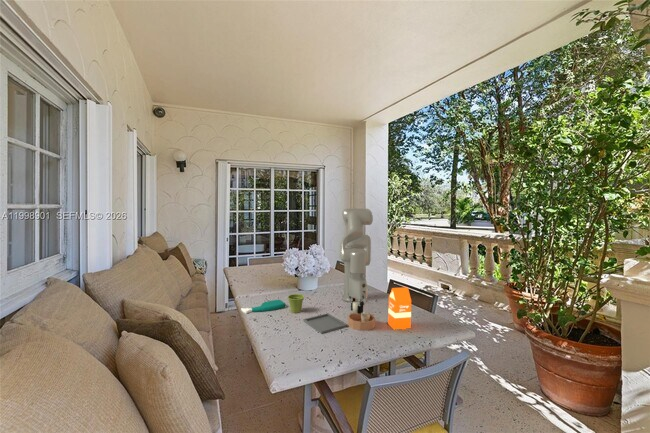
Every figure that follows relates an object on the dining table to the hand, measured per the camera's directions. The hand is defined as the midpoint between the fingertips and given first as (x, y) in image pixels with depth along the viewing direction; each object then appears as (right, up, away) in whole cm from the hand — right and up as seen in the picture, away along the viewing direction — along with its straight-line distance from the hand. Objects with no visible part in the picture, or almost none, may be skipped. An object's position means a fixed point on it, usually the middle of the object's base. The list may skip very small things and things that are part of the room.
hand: (356, 311), depth 146 cm
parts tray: (-16, -8, +3) cm, 18 cm away
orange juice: (+22, -9, +2) cm, 24 cm away
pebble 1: (0, -1, 0) cm, 1 cm away
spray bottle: (-52, -7, +25) cm, 58 cm away
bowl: (+2, -8, +2) cm, 9 cm away
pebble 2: (+5, -7, +4) cm, 10 cm away
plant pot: (-33, -7, +21) cm, 40 cm away
